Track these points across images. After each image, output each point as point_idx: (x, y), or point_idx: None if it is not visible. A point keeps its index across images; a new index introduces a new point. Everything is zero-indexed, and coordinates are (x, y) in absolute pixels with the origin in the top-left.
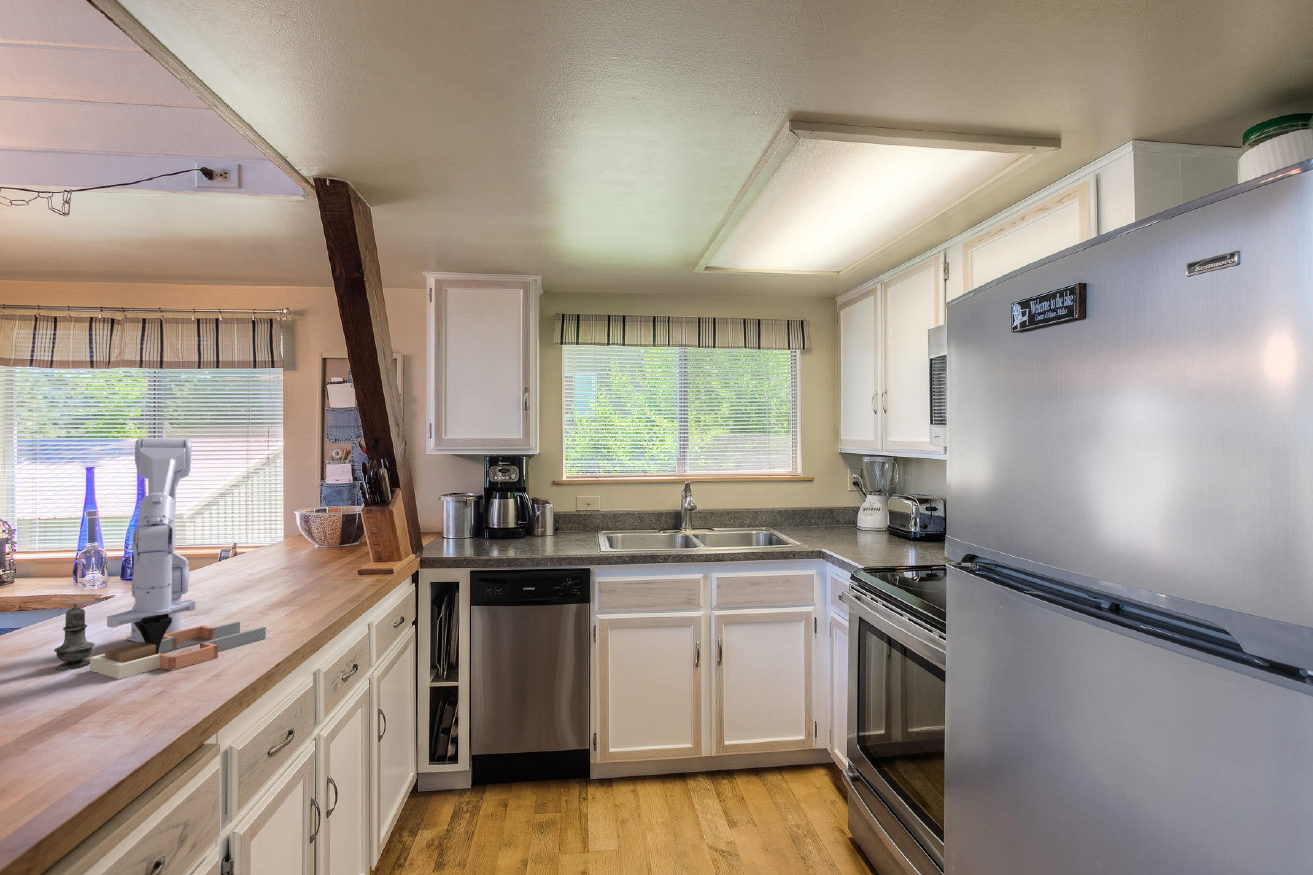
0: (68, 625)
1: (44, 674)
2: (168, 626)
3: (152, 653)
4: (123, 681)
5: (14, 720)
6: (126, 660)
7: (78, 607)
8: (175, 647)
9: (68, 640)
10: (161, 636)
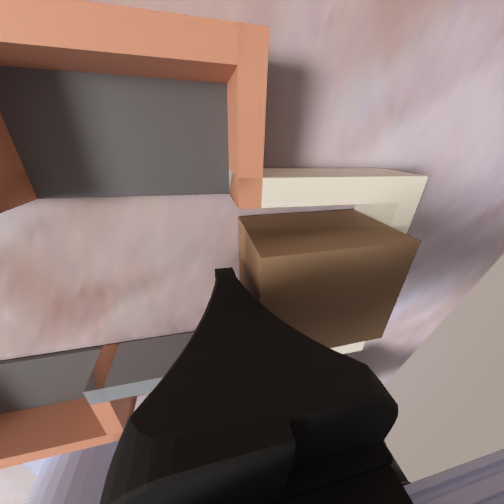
0: None
1: (376, 354)
2: (169, 374)
3: (266, 235)
4: (395, 125)
5: None
6: (366, 228)
7: None
8: (104, 351)
9: (384, 442)
10: (214, 318)
